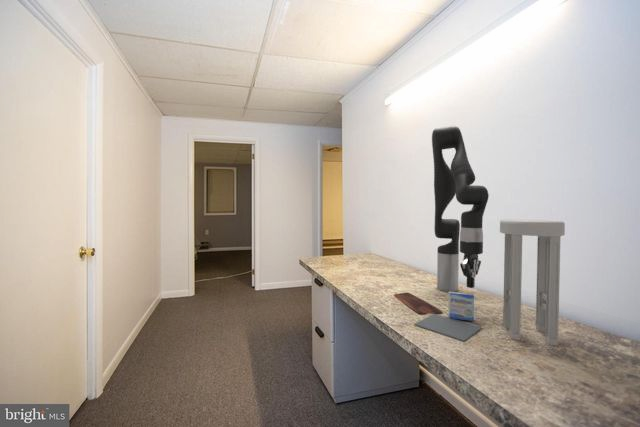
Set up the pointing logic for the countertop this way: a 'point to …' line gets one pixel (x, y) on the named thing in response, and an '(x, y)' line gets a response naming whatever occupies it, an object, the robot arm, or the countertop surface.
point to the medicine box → (461, 306)
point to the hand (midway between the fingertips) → (470, 287)
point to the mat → (449, 327)
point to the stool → (545, 275)
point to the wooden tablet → (417, 304)
